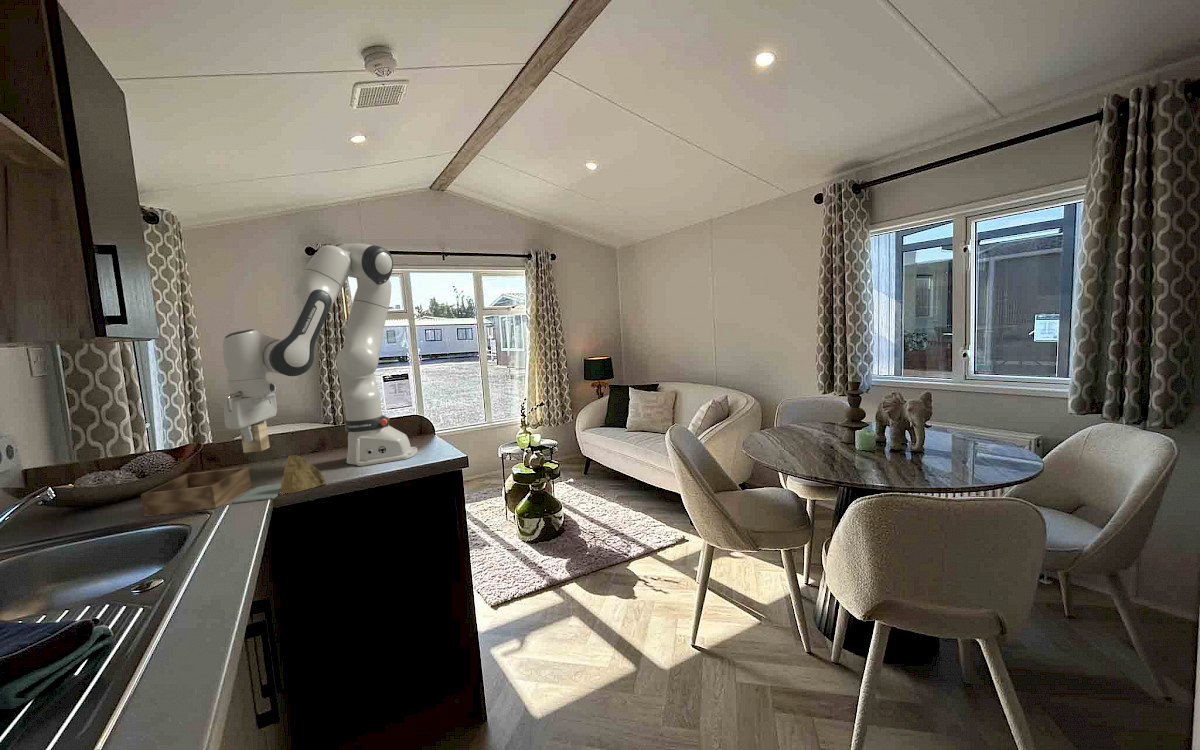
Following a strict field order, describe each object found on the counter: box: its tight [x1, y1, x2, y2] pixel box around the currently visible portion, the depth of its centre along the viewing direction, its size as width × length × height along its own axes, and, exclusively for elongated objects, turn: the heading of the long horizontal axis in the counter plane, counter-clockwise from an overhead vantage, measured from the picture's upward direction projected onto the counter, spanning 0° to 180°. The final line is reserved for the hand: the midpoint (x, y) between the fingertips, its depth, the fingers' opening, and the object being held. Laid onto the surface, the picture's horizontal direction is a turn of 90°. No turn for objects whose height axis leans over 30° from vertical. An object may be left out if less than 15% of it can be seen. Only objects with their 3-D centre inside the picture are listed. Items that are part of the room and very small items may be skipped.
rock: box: [279, 454, 327, 496], centre depth 141 cm, size 11×9×10 cm
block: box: [240, 422, 271, 454], centre depth 138 cm, size 4×4×7 cm
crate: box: [140, 466, 253, 517], centre depth 138 cm, size 17×18×6 cm
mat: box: [231, 483, 281, 505], centre depth 140 cm, size 10×13×1 cm
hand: (255, 439), depth 138 cm, fingers closed on block, 4 cm apart
